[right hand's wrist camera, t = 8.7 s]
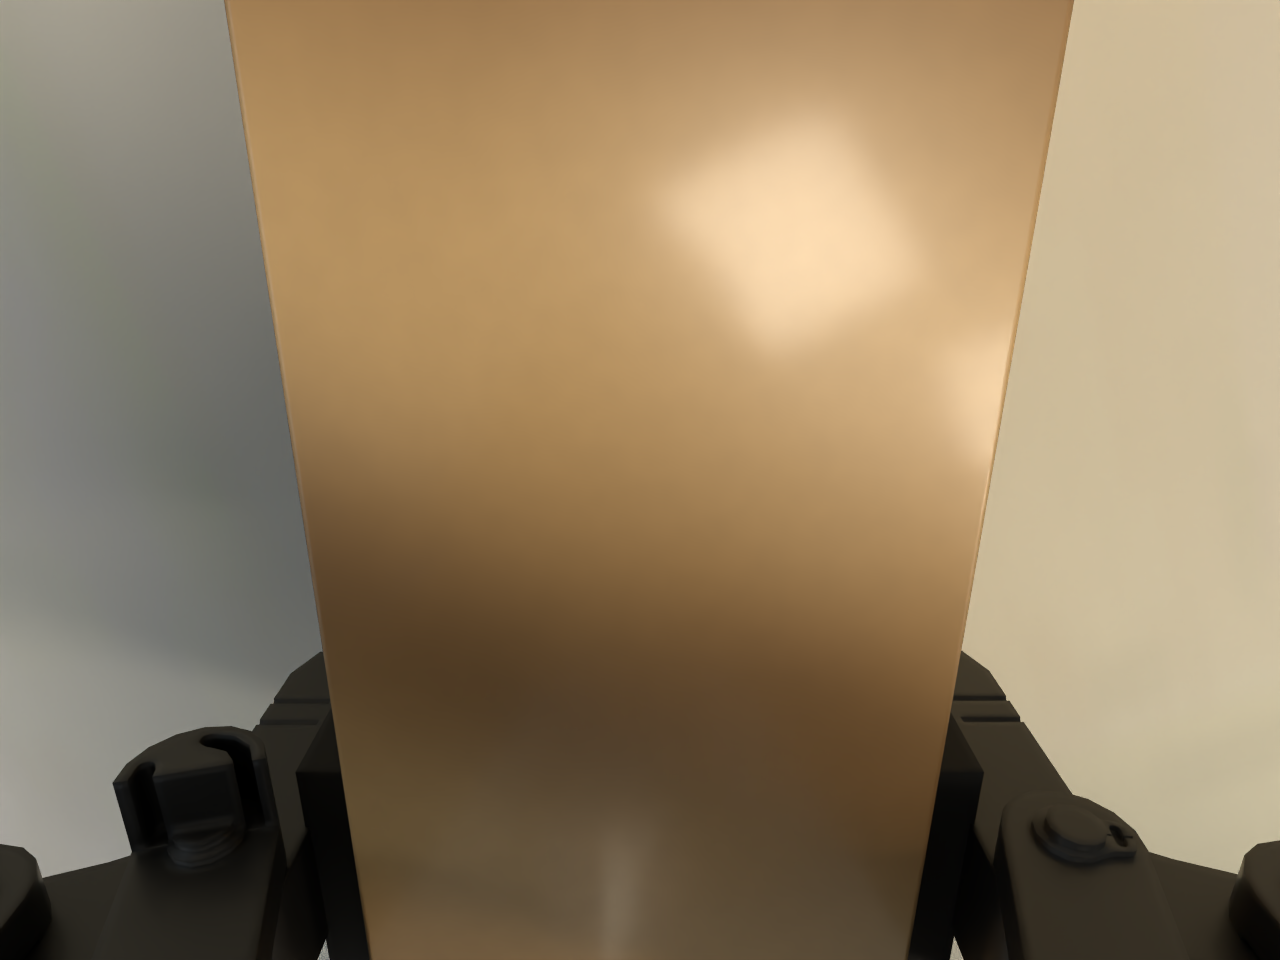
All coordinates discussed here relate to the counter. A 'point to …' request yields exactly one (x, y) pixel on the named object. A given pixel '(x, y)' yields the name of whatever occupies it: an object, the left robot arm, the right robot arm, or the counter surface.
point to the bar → (644, 443)
